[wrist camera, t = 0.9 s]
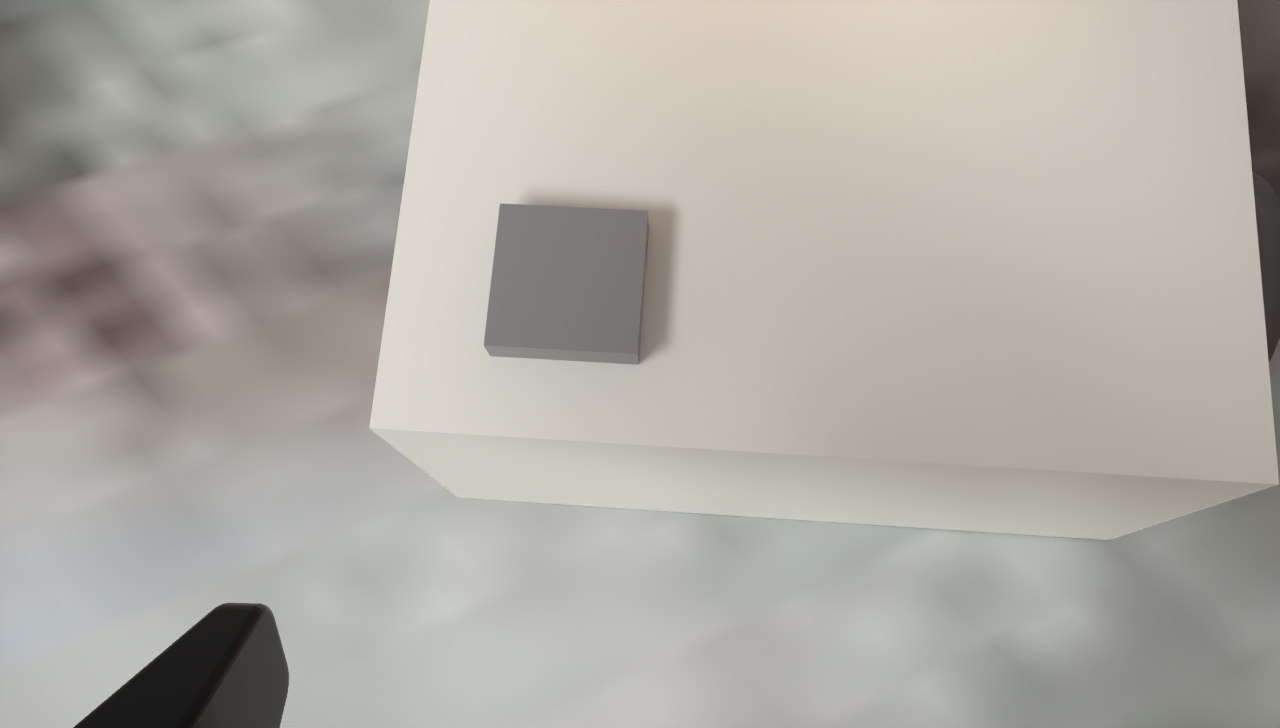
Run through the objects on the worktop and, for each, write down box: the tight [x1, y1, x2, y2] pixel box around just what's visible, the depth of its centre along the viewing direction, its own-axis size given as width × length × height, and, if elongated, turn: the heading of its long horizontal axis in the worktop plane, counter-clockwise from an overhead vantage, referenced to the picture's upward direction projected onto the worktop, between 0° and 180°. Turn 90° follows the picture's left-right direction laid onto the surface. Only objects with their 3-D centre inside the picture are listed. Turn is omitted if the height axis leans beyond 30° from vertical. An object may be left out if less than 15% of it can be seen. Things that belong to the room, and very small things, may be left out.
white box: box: [369, 0, 1280, 540], centre depth 21 cm, size 9×15×8 cm, turn 86°
